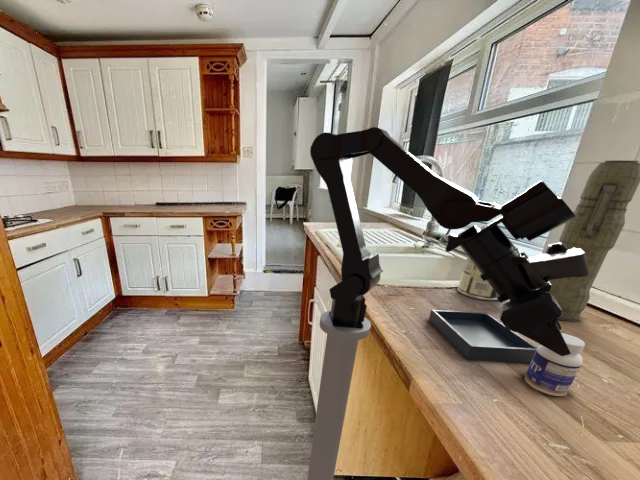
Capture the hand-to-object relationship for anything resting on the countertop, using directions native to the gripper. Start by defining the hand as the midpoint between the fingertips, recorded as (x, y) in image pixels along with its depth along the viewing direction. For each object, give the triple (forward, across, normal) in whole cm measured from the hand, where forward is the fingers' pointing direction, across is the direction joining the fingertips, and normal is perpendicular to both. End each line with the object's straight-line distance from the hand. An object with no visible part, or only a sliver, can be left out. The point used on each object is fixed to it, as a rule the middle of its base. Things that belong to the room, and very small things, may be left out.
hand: (561, 341), depth 47 cm
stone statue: (+10, +39, +2) cm, 41 cm away
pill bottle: (+6, 0, +6) cm, 8 cm away
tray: (-1, +10, +12) cm, 16 cm away
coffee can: (-2, +42, +14) cm, 44 cm away
